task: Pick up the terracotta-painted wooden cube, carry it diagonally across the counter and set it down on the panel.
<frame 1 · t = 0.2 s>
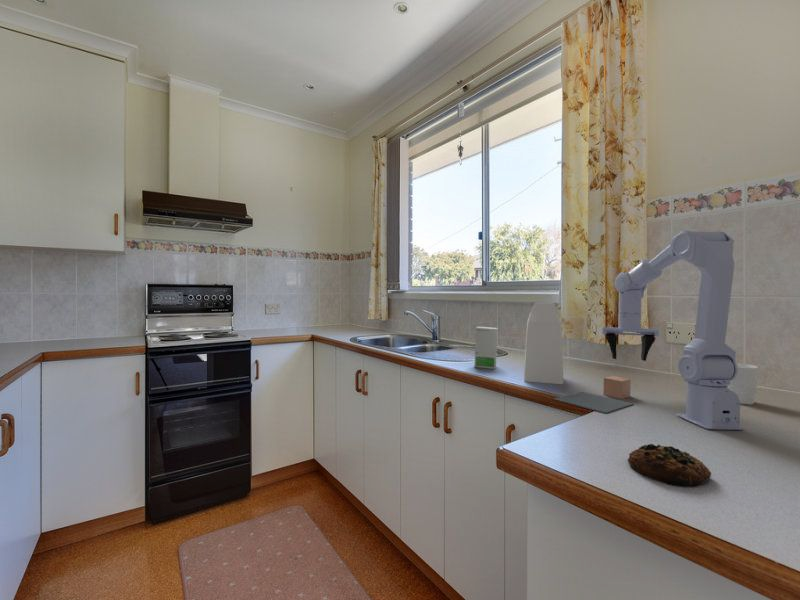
hand: (628, 359, 113), 10 cm above the counter, fingers open, 7 cm apart
skincare box: (485, 367, 149), on the counter
bread roll: (666, 473, 62), on the counter
panel: (593, 402, 102), on the counter
cube: (616, 395, 109), on the counter
milk: (542, 379, 129), on the counter
white cup: (737, 401, 105), on the counter
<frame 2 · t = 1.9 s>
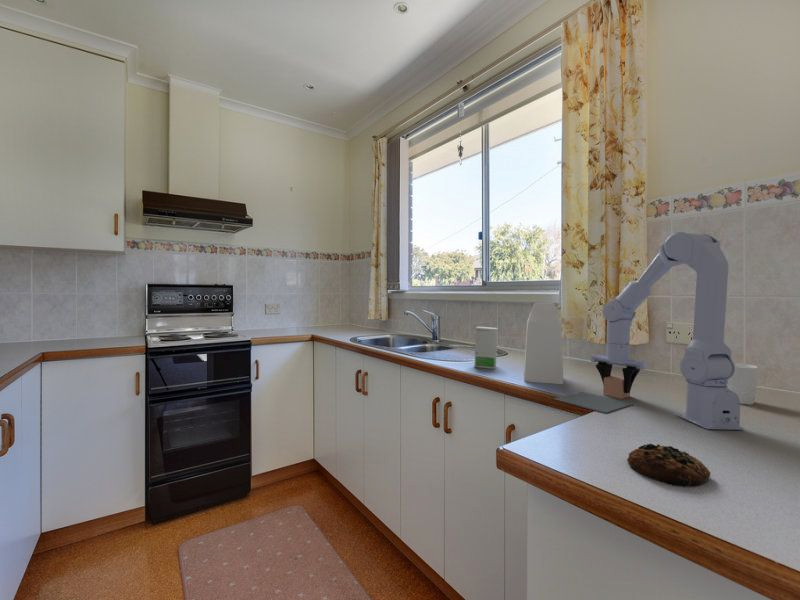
hand: (616, 390, 109), 1 cm above the counter, fingers closed on cube, 5 cm apart
cube: (616, 395, 109), on the counter, touching gripper
everything else where it was.
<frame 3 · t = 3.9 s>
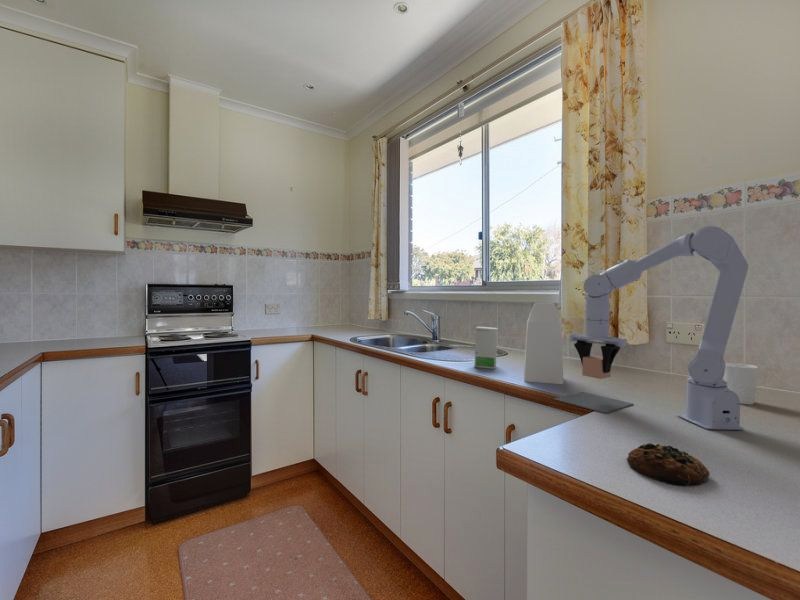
hand: (595, 370, 102), 8 cm above the counter, fingers closed on cube, 5 cm apart
cube: (596, 376, 103), point 7 cm above the counter, touching gripper
everything else where it was.
when the fingers open (3 cm above the counter, at t = 6.0 s): cube drops 1 cm, resting on panel.
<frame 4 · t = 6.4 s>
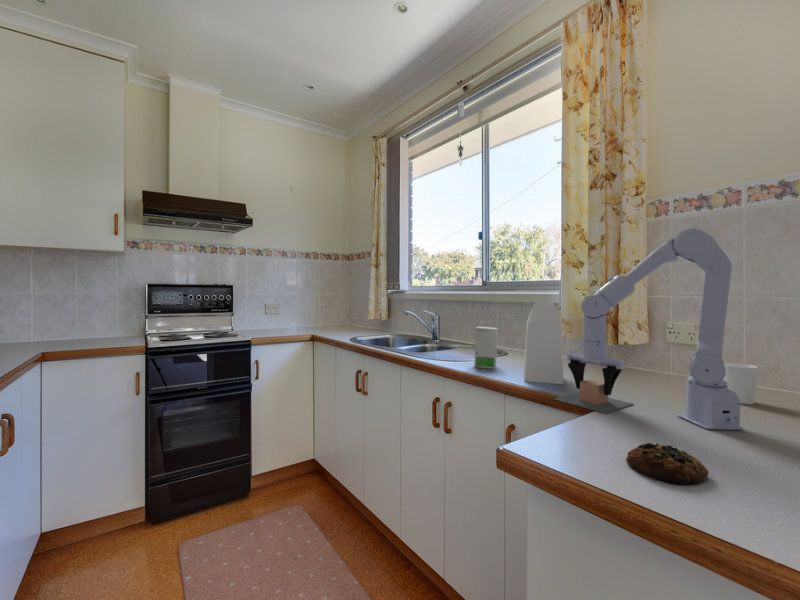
hand: (593, 391, 102), 3 cm above the counter, fingers open, 7 cm apart
cube: (593, 401, 102), resting on panel
everything else where it was.
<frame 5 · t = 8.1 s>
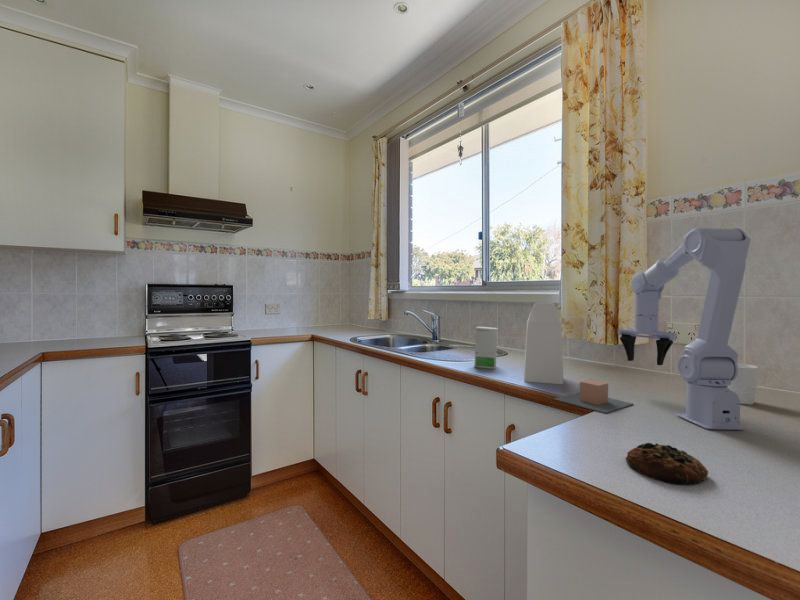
hand: (644, 362, 109), 9 cm above the counter, fingers open, 7 cm apart
nothing on the counter moved.
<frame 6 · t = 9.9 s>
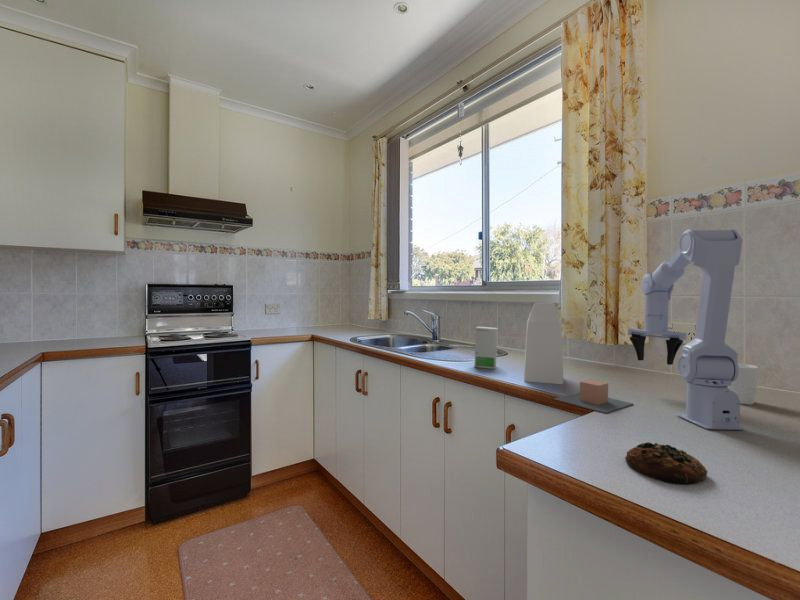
hand: (654, 362, 111), 9 cm above the counter, fingers open, 7 cm apart
nothing on the counter moved.
at the end: cube 0.3 cm from the panel (horizontally); the gripper is holding nothing; cube tilted 0° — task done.
